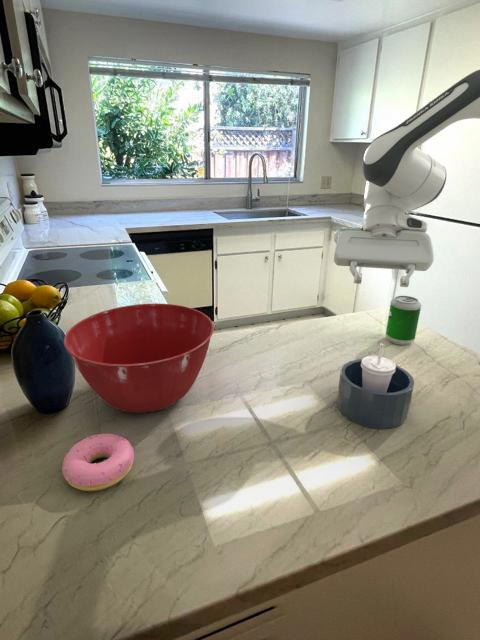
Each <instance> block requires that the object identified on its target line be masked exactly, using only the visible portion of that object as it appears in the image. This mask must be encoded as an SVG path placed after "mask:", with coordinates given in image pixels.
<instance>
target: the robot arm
mask: <svg viewBox="0 0 480 640" xmlns="http://www.w3.org/2000/svg"><path fill="white" fill-rule="evenodd" d="M469 119H472V120H473V119H475V120H479V119H480V69H476V70H475V71H473V72H471V73H469V74H468V75H466V76H464V77H462V79H459V80H458V81H456V82H455V83H454V84H452V85H451V86H450V87H449V88H447V89H446V90H445V91H443V92H441V93H440V94H439V95H437V96H436V97H435V98H434V99H432V100H430V102H428V103H427V104H425V105H424V106H423V107H421V108H420V109H418V110H417V111H416V112H414V113H413V114H412V115H411V116H409V117H408V118H406V119H405V120H403V121H402V122H401V123H400V124H398V125H397V126H395V127H393V128H391V129H389V130H387V131H386V132H383V133H382V134H380V135H378V136H377V137H375V138H374V139H373V140H372V141H371V142H370V143H369V145H368V146H367V147H366V149H365V150H364V152H363V154H362V160H361V168H362V174H363V177H364V179H365V180H366V183H365V188H364V195H363V196H364V197H363V207H364V213H363V215H362V227H357V226H356V227H355V226H354V227H348V226H343V227H341V228H338V229H337V230H335V232H334V235H333V241H334V243H335V248H334V254H333V262H334V264H335V265H336V266H339V267H348V268H349V272H350V273H351V275H352V276H353V284H357V285H358V284H359V285H361V284H362V281H363V280H362V279H363V278H362V277H363V273H362V272H359V271H358V270H357V268H369V269H383V270H384V269H385V270H401V271H405V274H406V275H401V277H400V279H399V287H402V288H408V287H409V286H410V279H411V277H412V276H413V274H414V273H415V271H416V272H418V271H419V272H426V271H428V270H429V269H430V268H431V267H432V265H433V263H434V247H433V241H432V239H431V236H430V235H429V234H428V233H427V231H428V222H427V221H425V220H421V219H419V218H417V217H412V216H410V215H407V214H405V213H406V212H411V211H415V210H417V209H420V208H423V207H424V206H427V205H429V204H430V203H432V202H434V201H435V200H437V198H438V197H439V196H440V195H441V193H442V192H443V190H444V188H445V185H446V182H447V169H446V167H445V166H444V165H443V164H441V163H440V162H439V161H437V160H436V159H435V158H433V157H432V156H430V155H429V154H427V153H426V152H424V151H423V150H422V149H420V148H419V147H420V146H421V145H422V144H424V143H426V142H428V140H430V139H432V138H433V137H435V136H436V135H438V134H439V133H440V132H442V131H444V130H445V129H447V128H448V127H449V126H451V125H453V124H455V123H457V122H460V121H463V120H469Z"/></svg>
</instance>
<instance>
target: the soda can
mask: <svg viewBox="0 0 480 640" xmlns="http://www.w3.org/2000/svg"><path fill="white" fill-rule="evenodd" d="M421 308H422V304H421V302H420V301H419V299H418V298H416V297H414V296H409V295H397V296H395V297H394V298H392V299H391V300H390V305H389V311H388V318H387V323H386V329H385V337H386V338H387V339H388V341H389V342H391V343H392V344H395V345H400V346H406V345H410V344H411V343H412V342H414V341H415V339H416V334H417V330H418V325H419V320H420V314H421Z"/></svg>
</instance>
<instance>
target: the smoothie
mask: <svg viewBox="0 0 480 640" xmlns="http://www.w3.org/2000/svg"><path fill="white" fill-rule="evenodd" d="M378 349H379V350H378V355H367V356H365V357H363V358H361V359H362V362H361V367H362V388H363V389H367V390H370V391H374V392H382V393H386V392H387V389H388V386H389V383H390V380H391V377H392V374H393V373H394V372H395V368H396V363H395V362H394V361H393V360H391V359H390V358H387V357H385V356H382V355H383V349H384V343H381V342H380V344H379V348H378Z"/></svg>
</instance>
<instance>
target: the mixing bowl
mask: <svg viewBox="0 0 480 640" xmlns="http://www.w3.org/2000/svg"><path fill="white" fill-rule="evenodd" d="M214 330H215V326H214V323H213V320H212V319H211V318H210V317H209V316H208V315H207V314H205V313H204V312H202V311H200V310H198V309H195V308H192V307H188V306H184V305H179V304H172V303H153V302H152V303H151V302H150V303H138V304H131V305H124V306H118V307H113V308H110V309H105V310H103V311H100V312H97V313H95V314H92V315H89V316H87V317H86V318H83V319H82V320H80V321H78V322H76V323H75V324H74V325H73V326H71V328H69V330H68V331H67V332H66V333H65V335H64V339H63V347H64V348H65V350H66V351H67V353H69V355H70V357H71V359H72V360H73V363H74V365H75V366H76V368H77V370H78V372H79V373H80V374H81V377H83V379H84V380H85V382H86V383H87V384H88V386H89V387H90V388H91V389H92V390H93V392H94V393H95V394H96V395H97V396H98V397H99V398H100V399H101V400H102V401H103V402H104V403H106V405H108V406H110V407H112V408H113V409H117V410H120V411H123V412H127V413H134V412H135V413H134V414H147V413H146V412H149V413H154V412H158V411H161V410H164V409H167V408H168V407H170V406H172V405H174V404H176V403H177V402H179V401H181V399H183V398H184V397H185V396H186V395H187V394H188V393H189V392H190V390H191V389H192V387H193V385H194V383H195V382H196V380H197V378H198V376H199V374H200V372H201V370H202V367H203V365H204V362H205V359H206V358H207V357H206V356H207V353H208V349H209V347H210V343H211V337H212V336H213V334H214V332H215V331H214ZM157 410H158V411H157ZM153 411H154V412H153Z"/></svg>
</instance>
